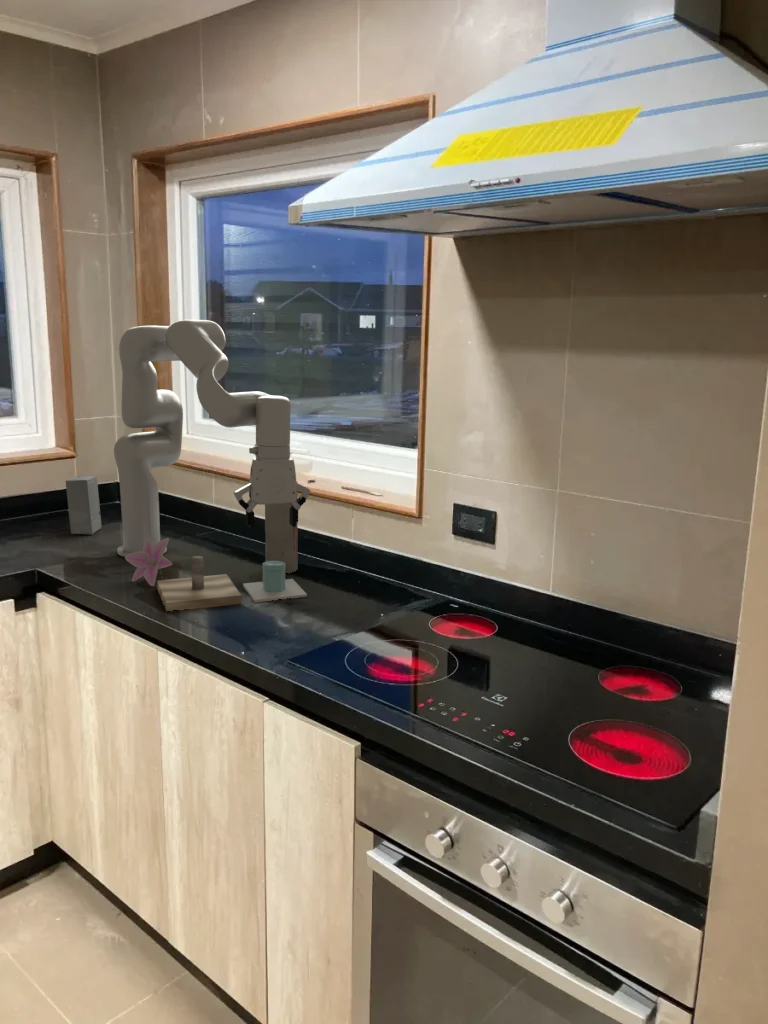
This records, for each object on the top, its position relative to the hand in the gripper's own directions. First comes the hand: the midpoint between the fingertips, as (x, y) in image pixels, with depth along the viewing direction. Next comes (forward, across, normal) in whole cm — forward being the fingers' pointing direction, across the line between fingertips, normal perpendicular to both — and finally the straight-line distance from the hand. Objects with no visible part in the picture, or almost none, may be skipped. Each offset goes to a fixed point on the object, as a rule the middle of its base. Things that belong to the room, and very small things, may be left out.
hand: (272, 526), depth 186 cm
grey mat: (+15, 0, -1) cm, 15 cm away
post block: (+16, -16, +1) cm, 23 cm away
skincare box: (+18, -38, +68) cm, 80 cm away
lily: (+16, -25, +17) cm, 34 cm away
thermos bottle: (+16, +6, +15) cm, 23 cm away
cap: (+15, 0, -1) cm, 15 cm away
